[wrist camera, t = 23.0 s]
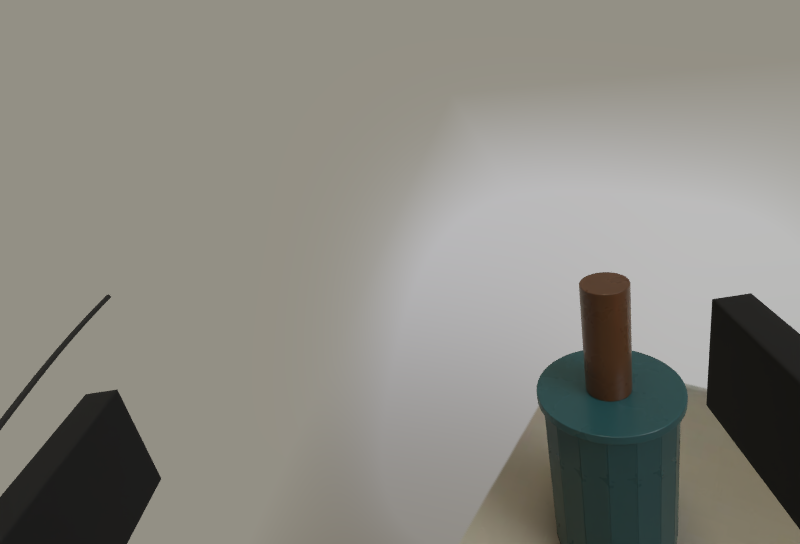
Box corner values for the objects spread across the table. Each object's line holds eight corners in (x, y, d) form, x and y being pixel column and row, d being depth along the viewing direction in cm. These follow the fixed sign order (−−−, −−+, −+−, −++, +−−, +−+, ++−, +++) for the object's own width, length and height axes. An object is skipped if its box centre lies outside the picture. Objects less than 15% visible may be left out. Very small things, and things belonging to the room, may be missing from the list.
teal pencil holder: (538, 506, 44) (522, 379, 39) (630, 474, 45) (627, 345, 40) (594, 599, 37) (584, 457, 32) (703, 557, 38) (711, 413, 33)
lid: (516, 384, 40) (501, 274, 36) (629, 348, 41) (627, 238, 37) (582, 472, 32) (573, 342, 28) (722, 424, 33) (730, 293, 29)
